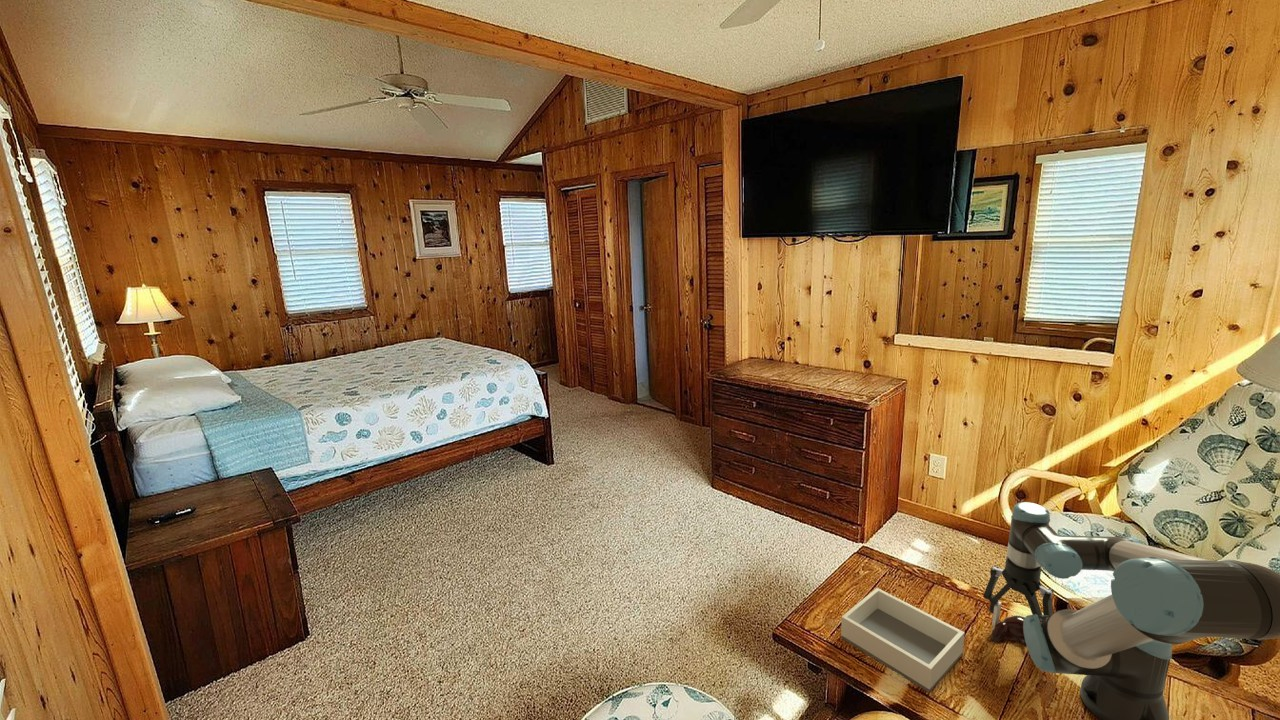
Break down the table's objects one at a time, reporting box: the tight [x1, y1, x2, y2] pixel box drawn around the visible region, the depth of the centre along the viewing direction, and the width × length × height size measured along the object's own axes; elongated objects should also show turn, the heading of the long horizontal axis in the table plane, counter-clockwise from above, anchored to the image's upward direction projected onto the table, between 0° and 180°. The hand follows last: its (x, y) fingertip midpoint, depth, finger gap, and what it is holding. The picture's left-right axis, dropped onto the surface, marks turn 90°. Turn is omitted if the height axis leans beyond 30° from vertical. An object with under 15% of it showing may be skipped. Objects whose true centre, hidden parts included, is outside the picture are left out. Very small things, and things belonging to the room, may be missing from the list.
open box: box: [840, 587, 966, 694], centre depth 145 cm, size 24×18×7 cm
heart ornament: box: [990, 615, 1027, 646], centre depth 147 cm, size 6×12×11 cm
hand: (1013, 632), depth 145 cm, fingers closed on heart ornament, 8 cm apart
